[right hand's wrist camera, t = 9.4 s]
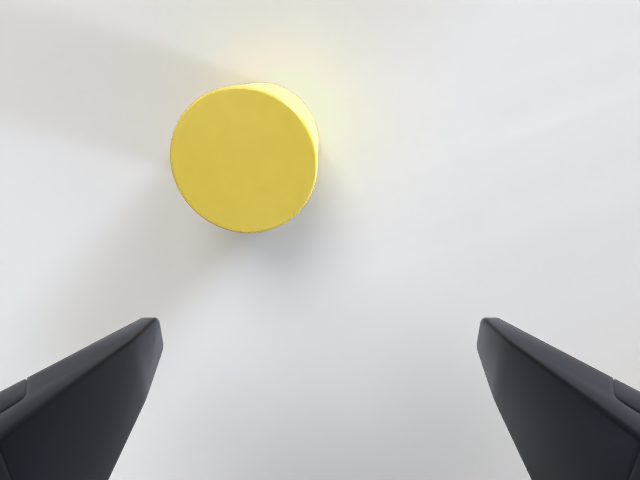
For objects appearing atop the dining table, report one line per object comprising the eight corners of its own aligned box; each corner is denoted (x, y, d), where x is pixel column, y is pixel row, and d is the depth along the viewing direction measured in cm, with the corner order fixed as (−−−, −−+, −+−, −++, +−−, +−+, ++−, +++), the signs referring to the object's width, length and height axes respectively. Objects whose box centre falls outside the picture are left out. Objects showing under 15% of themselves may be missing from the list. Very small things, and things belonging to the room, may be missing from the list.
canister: (338, 116, 17) (344, 131, 13) (289, 213, 19) (279, 255, 14) (232, 60, 16) (200, 55, 12) (191, 165, 18) (149, 195, 14)
